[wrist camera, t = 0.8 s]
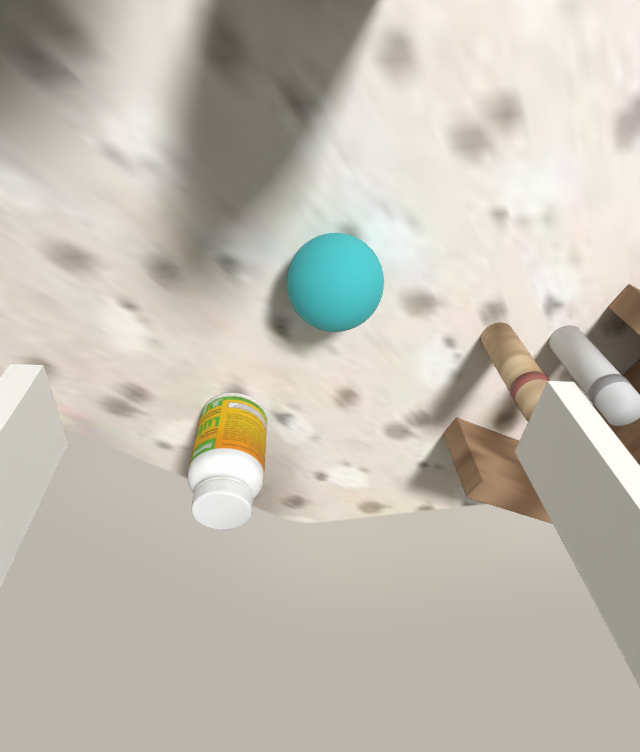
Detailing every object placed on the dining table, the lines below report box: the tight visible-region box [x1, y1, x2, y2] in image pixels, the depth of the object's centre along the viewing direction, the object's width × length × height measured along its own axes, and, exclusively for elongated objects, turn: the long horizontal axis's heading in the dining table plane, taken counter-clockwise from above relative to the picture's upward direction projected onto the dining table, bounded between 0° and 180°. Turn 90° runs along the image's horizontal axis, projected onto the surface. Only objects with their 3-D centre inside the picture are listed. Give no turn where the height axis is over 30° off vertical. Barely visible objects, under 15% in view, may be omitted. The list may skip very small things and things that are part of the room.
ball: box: [287, 233, 384, 332], centre depth 30 cm, size 6×6×6 cm
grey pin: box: [549, 326, 640, 426], centre depth 34 cm, size 2×2×8 cm
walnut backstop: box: [444, 284, 640, 524], centre depth 37 cm, size 12×18×7 cm
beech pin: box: [481, 323, 550, 422], centre depth 33 cm, size 2×2×8 cm
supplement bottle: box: [188, 393, 267, 530], centre depth 36 cm, size 5×5×10 cm
